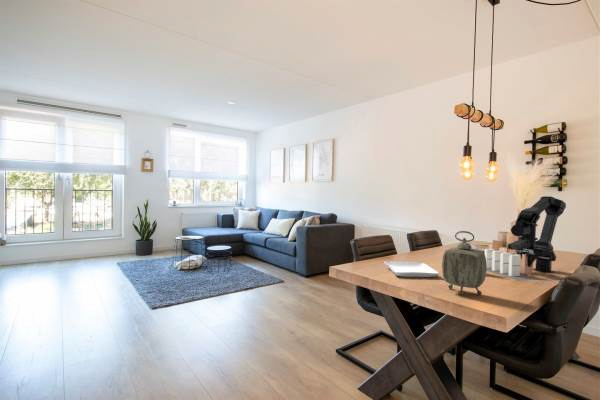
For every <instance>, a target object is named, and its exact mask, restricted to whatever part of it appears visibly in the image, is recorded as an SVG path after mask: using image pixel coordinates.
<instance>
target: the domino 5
mask: <svg viewBox="0 0 600 400" xmlns="http://www.w3.org/2000/svg"><path fill="white" fill-rule="evenodd" d="M533 269H534V263H533V264H532V265H531V267H528V256H527V255H526V254H522V258H521V274H523V275H525V274H533Z"/></svg>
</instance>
